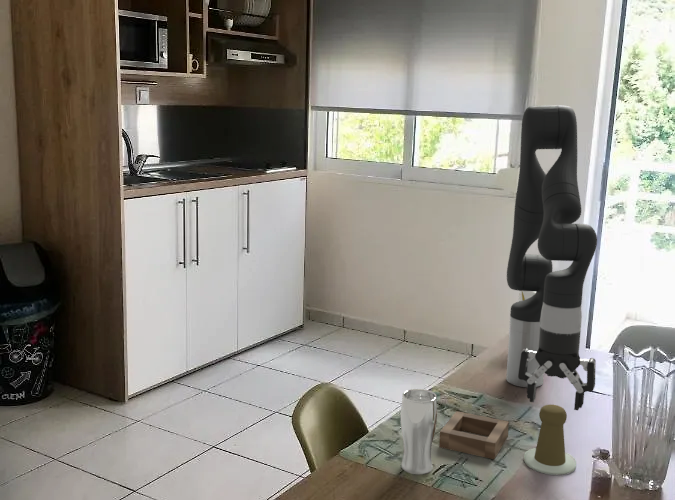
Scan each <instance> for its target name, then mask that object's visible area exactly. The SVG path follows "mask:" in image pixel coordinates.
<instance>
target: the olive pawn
mask: <svg viewBox="0 0 675 500" xmlns="http://www.w3.org/2000/svg"><path fill="white" fill-rule="evenodd" d="M538 416H539V420H540V422H541V424H540V427H539V433H538V439H537V441H536V447H535V448H536V451H535V456H534V458H535V460H537V461H538V462H539V463H541V464H544V465H549V466H560V465H563V464H564V463H565V461H566V458H565V452H566V447H565V429H564V425H565V423H566V422H567V417H568V415H567V411H566V409H565V408H564V407H562V406H560V405H558V404H545V405H543V406H541V408H540V410H539V414H538Z"/></svg>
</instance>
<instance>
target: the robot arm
mask: <svg viewBox="0 0 675 500" xmlns="http://www.w3.org/2000/svg"><path fill="white" fill-rule="evenodd" d="M577 121H578V120H577V116H576V113H575V110H574V109H573V108H572V107H571V106H570V105H569V106H568V105H532V106H528V107H526V109H525V110H524V112H523V115H522V120H521V129H520V130H521V131H520V155H519V156H520V158H519V172H518V178H517V179H518V181H517V188H516V195H515V201H514V213H513V214H514V215H513V216H514V217H513V227H512V228H513V229H512V237H511V238H512V239H511V244H510V245H511V246H510V251H509V256H508V261H507V267H506V282H507V286H508V287H509V289H511V290H513V291H519V292H520V291H534V292H536V293H535V295H533V296H532V297H530V298H528V299H526V300H523V301H519V300H518V301H517V302H514V303H513V304H512V305H511V307H510V313H509V330H508V331H509V332H508V334H509V335H508V346H507V360H506V361H507V363H506V364H507V365H506V379H505V380H506V382H508V384H511V385H514V386H517V387H523V388H526V389H527V390H526V398H527V399H529V402H531V403H534V402H535V400H536V395H537V394H536V393H537V388H538V387H540V386H542V385H543V384H544V374H545V375H547V376H548V377H556V378H559V379H566V378H567V380H568V381H569V383H570V384H572V386H573V388H574V389H575V394H574V395H575V397H574V408H573V410H574V411H579V409H582V407H583V405H584V399H585V393H587V392H589V393H591V392H593V391H594V390H595V386H596V364H597V363H596V358H594V357H591V358H589V359H587V358H581V356H580V343H581V332H582V329H581V328H582V319H583V318H582V317H583V315H582V303H583V289H584V283H585V280H586V276H587V273H588V270H589V267H590V264H591V262H592V260H593V258H594V255H595V252H596V251H597V246H598V237H597V233H596V230H595V229H594V227H592V226H591V225H589V224H587V223H586V224H585V223H575V222H577V221H578V220H579V219H580V217H581V216H582V205H581V196H580V191H579V185H578V182H579V181H578V122H577ZM537 150H561V151H560V154H559V156H558V158H557V160H556V161H554V163H553V164H552V166H551V167H550V168H549V170H548V171H547V173H546V172H545V171H544V170H543V167H542V166H541V164H540V162H539V159H538V157H537V154H536V152H537ZM536 241H537V250H538V252H539V254H529V253H528V254H526V253H527V252H528V250H529V249H530V247H531V246H533V244H534V243H535V242H536ZM553 261H555V262H556V261H558V262H559V261H560V262H562V261H563V262H571V264H570V265H569V266H568V267H566V268H565V269H562V270H560V269H559V270H555V271H554V270H553ZM580 365H581V366H582V367H583V371H585V372H586V382H585V383H584V381H583V380H582V378H581V376H580V374H579V372H578V371H577V369H578V368H579V366H580Z"/></svg>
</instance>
